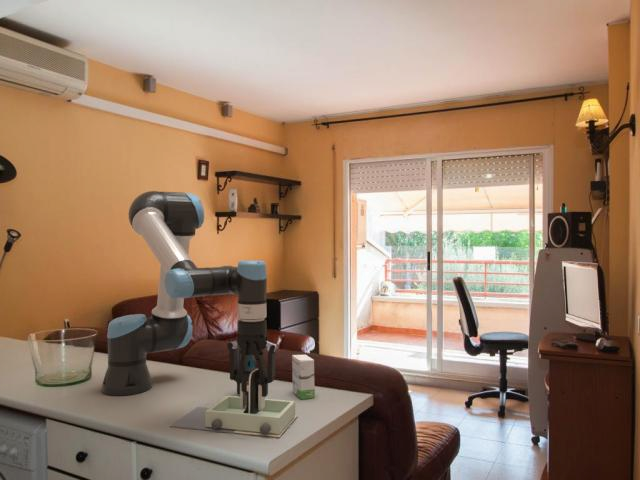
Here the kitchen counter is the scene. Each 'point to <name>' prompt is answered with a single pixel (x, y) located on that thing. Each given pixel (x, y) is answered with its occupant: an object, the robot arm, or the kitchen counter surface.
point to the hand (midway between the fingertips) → (252, 407)
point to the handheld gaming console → (250, 360)
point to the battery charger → (251, 389)
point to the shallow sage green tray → (250, 416)
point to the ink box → (303, 376)
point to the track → (197, 422)
